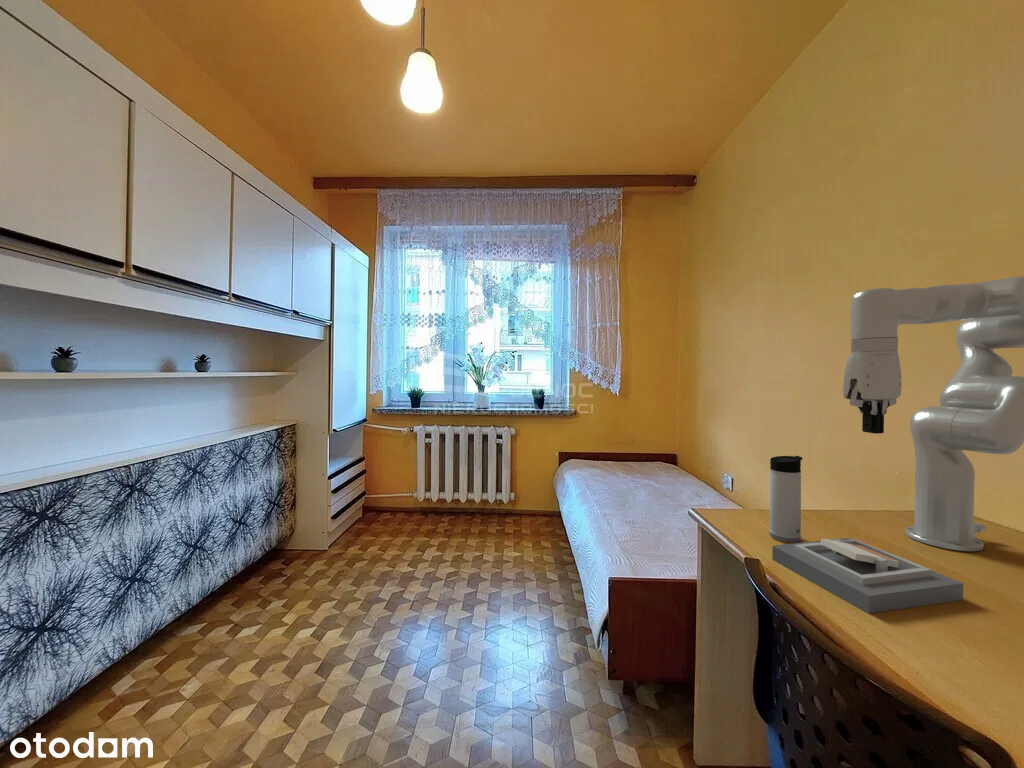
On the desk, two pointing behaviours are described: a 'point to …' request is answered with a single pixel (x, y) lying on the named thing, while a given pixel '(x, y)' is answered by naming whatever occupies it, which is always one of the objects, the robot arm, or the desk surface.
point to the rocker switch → (857, 552)
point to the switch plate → (868, 577)
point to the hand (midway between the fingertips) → (872, 432)
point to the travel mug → (785, 498)
